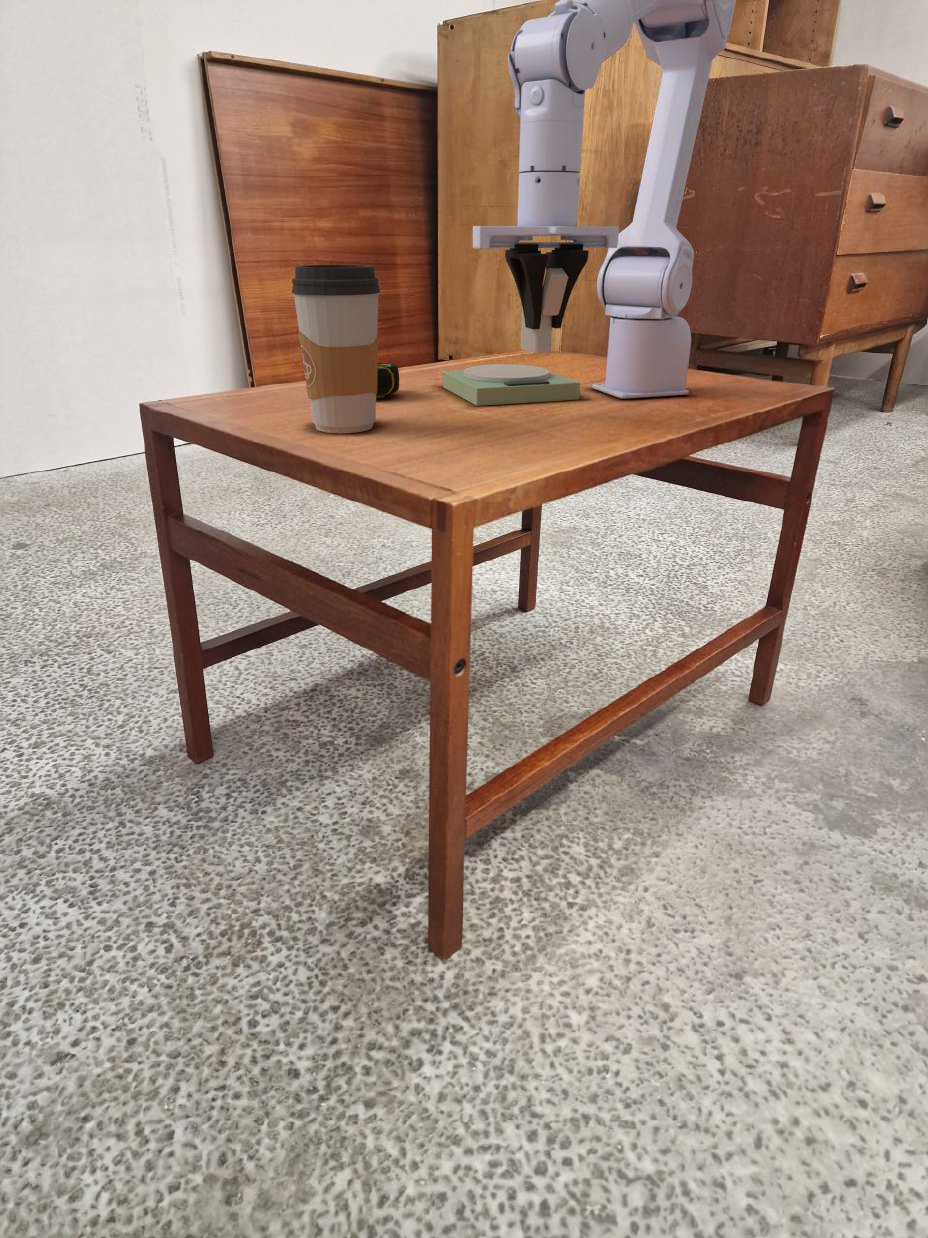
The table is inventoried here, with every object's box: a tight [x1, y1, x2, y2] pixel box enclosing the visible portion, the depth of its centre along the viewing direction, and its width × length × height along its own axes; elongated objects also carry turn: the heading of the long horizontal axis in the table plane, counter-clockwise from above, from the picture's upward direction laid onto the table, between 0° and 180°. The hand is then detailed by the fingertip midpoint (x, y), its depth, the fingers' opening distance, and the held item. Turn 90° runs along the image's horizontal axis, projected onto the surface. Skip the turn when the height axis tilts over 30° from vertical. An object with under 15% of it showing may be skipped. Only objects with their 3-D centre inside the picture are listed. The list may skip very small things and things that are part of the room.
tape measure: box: [376, 362, 400, 400], centre depth 96 cm, size 7×7×4 cm
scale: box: [442, 363, 581, 407], centre depth 98 cm, size 13×13×3 cm
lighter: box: [520, 268, 568, 354], centre depth 80 cm, size 7×2×8 cm, turn 19°
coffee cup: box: [291, 264, 381, 434], centre depth 78 cm, size 8×8×15 cm
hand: (542, 327), depth 81 cm, fingers closed on lighter, 2 cm apart
